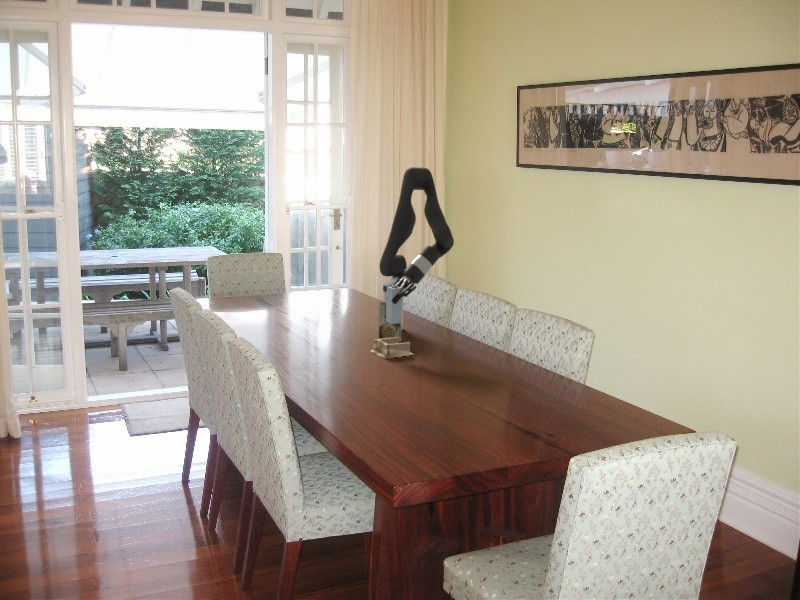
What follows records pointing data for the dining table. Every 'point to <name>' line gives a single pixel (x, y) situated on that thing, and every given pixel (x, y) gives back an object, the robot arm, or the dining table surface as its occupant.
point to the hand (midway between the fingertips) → (390, 301)
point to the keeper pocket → (390, 348)
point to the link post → (393, 306)
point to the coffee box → (387, 325)
